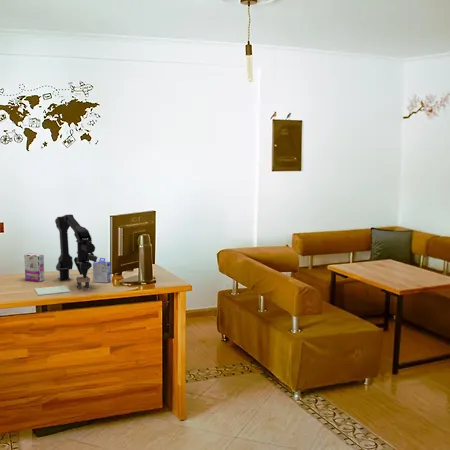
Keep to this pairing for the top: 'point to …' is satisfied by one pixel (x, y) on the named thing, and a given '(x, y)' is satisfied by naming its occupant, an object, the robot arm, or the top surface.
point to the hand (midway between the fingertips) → (83, 276)
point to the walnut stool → (82, 279)
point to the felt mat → (52, 290)
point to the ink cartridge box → (102, 271)
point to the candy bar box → (34, 267)
